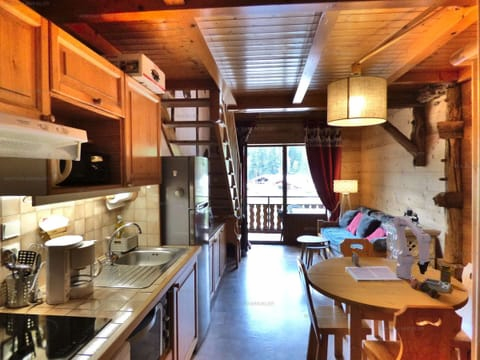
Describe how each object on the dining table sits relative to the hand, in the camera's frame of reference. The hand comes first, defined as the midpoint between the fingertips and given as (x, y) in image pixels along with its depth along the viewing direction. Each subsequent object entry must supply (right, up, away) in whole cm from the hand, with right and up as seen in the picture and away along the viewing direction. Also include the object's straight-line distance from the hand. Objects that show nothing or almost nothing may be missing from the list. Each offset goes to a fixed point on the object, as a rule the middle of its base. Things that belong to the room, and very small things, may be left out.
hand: (423, 272), depth 202 cm
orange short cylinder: (-6, -10, 0) cm, 11 cm away
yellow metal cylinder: (+19, -10, +8) cm, 23 cm away
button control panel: (+8, -10, 0) cm, 13 cm away
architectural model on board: (-25, -9, +53) cm, 59 cm away
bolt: (-3, -10, -12) cm, 16 cm away
